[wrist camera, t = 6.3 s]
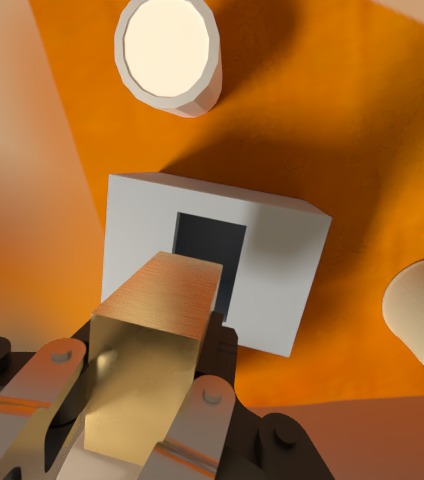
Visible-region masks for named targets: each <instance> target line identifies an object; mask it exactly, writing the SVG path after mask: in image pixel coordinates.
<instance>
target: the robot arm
mask: <svg viewBox="0 0 424 480" xmlns="http://www.w3.org/2000/svg"><path fill="white" fill-rule="evenodd" d="M223 318H224V314H223V313H219V312H215V311H212V314H211V318H210V321H209V325H208V329H207V332H206V336H205V339H204V343H203V347H202V350H201V354H200V357H199V361H198V365H197V368H196V372H195V377H194V381H193V383H192V384H191V386H190V388H189V390H188V392H187V394H186V396H185V398H184V400H183V402H182V404H181V406H180V408H179V410H178V412H177V414H176V416H175V418H174V420H173V422H172V424H171V426H170V428H169V430H168V432H167V434H166V436H165V438H164V440H163V441H162V442H161V441H158V442H157V443H156V445H155V446H154V448H153V450H152V452H151V453H150V455H149V457H148V459H147V461H146V463H145V465H144V467H143V469H142V471H141V473H140V474H139V476H138V478H137V480H335V479H334V477H333V475H332V474H331V472H330V471H329V469H328V467H327V466H326V464H325V462H324V461H323V459H322V458H321V456H320V454H319V453H318V451H317V449H316V448H315V446H314V445H313V443H312V441H311V440H310V438H309V436H308V435H307V433H306V432H305V430H304V429H303V428H302V427H301V425H300V424H299V423H297V422H296V421H295V420H294V419H292V418H290V417H289V416H287V415H284V414H281V413H270V414H267V415H265V416H264V417H263V418H261V417H259V416H257V415H256V414H254V413H252V412H251V411H249V410H248V409H247V408H246V407H244V406H243V405H242V404H241V402H240V401H239V400H238V398H237V396H236V394H235V390H234V381H235V370H236V358H237V347H238V336H237V333H236V331H235V329H234V328H230V327H226V326H222V323H223ZM90 320H91V319H90ZM90 320H89V321H88V322H87V323H86V324H85V325H84V326H82V327H81V328H80V329H79V330H78V331H77V332H76V333H75V334H74V335H73V336H72V337H71V338H62V339H57V340H54V341H51V342H49V343H47V344H45V345H44V346H43V347H41V348H40V350H38V352H11V343H10V341H9V340H8V339H6V338H3V337H0V480H52V478H53V476H54V474H55V471H56V469H57V468H58V465H59V464H60V462H61V460H62V458H63V456H64V454H65V452H66V450H67V448H68V446H69V444H70V442H71V440H72V437H73V436H74V434H75V432H76V430H77V428H78V426H79V424H80V422H81V420H82V416H83V409H84V408H85V406H86V400H87V381H88V359H89V340H90Z"/></svg>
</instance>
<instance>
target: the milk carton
mask: <svg viewBox="0 0 424 480" xmlns="http://www.w3.org/2000/svg"><path fill="white" fill-rule="evenodd" d="M84 438H85V428H84V430H83V431H82V433H81V434H80V436H79V437H78V439H77V440H76V442H75V444H74V445H73V447H72V448H71V450H70V452H69V454H68V456H67V458H66V460H65V462H64V465H63V466H62V468H61V471H60V473H59V475H58V477H57V479H56V480H137V478H138V476H139V474H140V473H141V471H142V469H143V467H144V466H140V465H137V464H134V463H130V462H127V461H124V460H120V459H117V458H113V457H110V456H107V455H103V454H100V453H97V452H93V451H90V450H87V449H84Z"/></svg>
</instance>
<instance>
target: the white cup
mask: <svg viewBox="0 0 424 480" xmlns="http://www.w3.org/2000/svg"><path fill="white" fill-rule="evenodd" d="M114 45H115V62H116V65H117V67H118V70H119V73H120V75H121V78H122V81H123V83H124V84H125V85H126V86H127V88H128V89H129V90H130V91H131V92H132V93H133V95H134V96H135V97H136V98H137V99H138V100H140V101H142V102H144V103H146V104H148V105H150V106H152V107H154V108H157V109H160V110H163V111H166V112H169V113H172V114H175V115H179V116H182V117H194V118H196V117H198V116H200V115H203V114H205V113H207V112H208V111H209V110H210V109H211V108H212V107H213V106H214V105H215V104H216V102H217V100H218V98H219V96H220V93H221V91H222V63H221V49H220V36H219V33H218V29H217V26H216V23H215V19H214V16H213V12H212V11H211V9H210V8H209V7H208V6H207V4H206V3H205V2H204V1H203V0H131V1H130V2H129V4H128V5H127V6H126V8H125V9H124V10H123V12H122V13H121V16H120V19H119V22H118V26H117V29H116V32H115V36H114Z"/></svg>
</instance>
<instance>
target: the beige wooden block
mask: <svg viewBox="0 0 424 480" xmlns="http://www.w3.org/2000/svg"><path fill="white" fill-rule="evenodd" d="M222 268H223V265H222V264H217V263H213V262H208V261H204V260H199V259H195V258H190V257H186V256H181V255H176V254H172V253H167V252H163V251H159V252H158V253H157V254H156V255H155V256H153V257H152V258H151V259H150V260H149V261H148V262H147V263H146V264H145V265H143V266H142V267H141V268H140V269H139V270H138V271H137V272H136V273H135V274H133V275H132V276H131V277H130V278H129V279H128V280H127V281H126V282H125V283H123V284H122V285H121V286H120V287H119V288H118V289H117V290H116V291H115V292H113V293H112V294H111V295H110V296H109V297H108V298H107V299H106V300H105V301H103V302H102V303H101V304H100V305H99V306H98V307H97V308H96V309H95V310H94V311H92V312H91V320H90V340H89V359H88V381H87V400H86V419H85V420H86V421H85V438H84V449H87V450H90V451H93V452H97V453H100V454H103V455H107V456H110V457H113V458H117V459H120V460H124V461H127V462H130V463H134V464H137V465H140V466H144V465H145V463H146V461H147V459H148V457H149V455H150V453H151V452H152V450H153V448H154V446H155V445H156V443H157V442H158V441H161V442H162V441H163V440H164V438H165V436H166V434H167V432H168V430H169V428H170V426H171V424H172V422H173V420H174V418H175V416H176V414H177V412H178V410H179V408H180V406H181V404H182V402H183V400H184V398H185V396H186V394H187V392H188V390H189V388H190V386H191V384H192V383H193V381H194V377H195V372H196V368H197V365H198V361H199V357H200V354H201V350H202V347H203V343H204V339H205V336H206V332H207V329H208V325H209V321H210V318H211V314H212V311H214V308H215V303H216V298H217V293H218V288H219V283H220V278H221V273H222Z"/></svg>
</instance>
